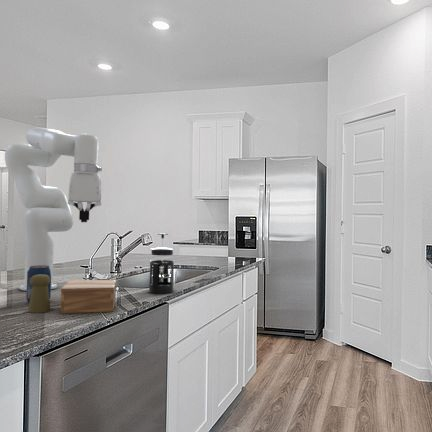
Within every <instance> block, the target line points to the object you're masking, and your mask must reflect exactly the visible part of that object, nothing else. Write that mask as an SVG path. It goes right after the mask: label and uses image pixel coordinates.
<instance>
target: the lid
mask: <svg viewBox="0 0 432 432" xmlns="http://www.w3.org/2000/svg"><path fill="white" fill-rule="evenodd" d="M115 284H116V285H117V279H116V278H115V279H114V278H112V279H69V280H68V281H67V282H66V283H65V284H64V285H63V286H62V287H61V289H60V292H61V291H96V290H114V287H115Z"/></svg>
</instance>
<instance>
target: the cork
mask: <svg viewBox="0 0 432 432" xmlns="http://www.w3.org/2000/svg"><path fill="white" fill-rule="evenodd" d="M49 282H50V277H49V276H48V275H44V274H38V275H34V276H32V277H31V284H32V292H31V297H30V303H28V309H27V312H28V313H35V314H37V313H46V312H50V311H51V310H52V309H51V302H50V301H51V299H50V300H49V292H48V284H49Z"/></svg>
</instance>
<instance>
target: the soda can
mask: <svg viewBox="0 0 432 432" xmlns="http://www.w3.org/2000/svg"><path fill="white" fill-rule="evenodd" d="M38 274H44V275H48V276H49V277H50V282H49V284H48V292H49V300H50V301H51V295H52V294H51V293H52V289H51V270H50V268H49V266H45V265H42V266H30V268H29V270H28V272H27V291H26V301H27V303H28V304H29V303H30V297H31V292H32V284H31V277H32V276H34V275H38Z"/></svg>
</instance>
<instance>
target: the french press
mask: <svg viewBox="0 0 432 432" xmlns="http://www.w3.org/2000/svg"><path fill="white" fill-rule="evenodd" d="M157 236H161V237H160V238H161V239H162V240H161V247H155V248H150V249H149V250H150V251H151V255H152V256H161V259H156V260H155V259H154V260H150V261H149V283H148V285H149V286H148V287H149V288H148V293H149V294H151V295H152V294H153V295H167V294H173V293H174V265H175V264H174V263H175V261H174V260H170V259H169V260H167V259H163V256H172V255H174V251H175V248H170V247H164V239H165V236H169V233H166V232H165V233H164V232H163V233H157ZM169 267H170V268H171V269H170V274H169ZM160 269H161V270H160ZM160 279H161V280H163V281H160ZM169 279H170V281H169Z"/></svg>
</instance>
